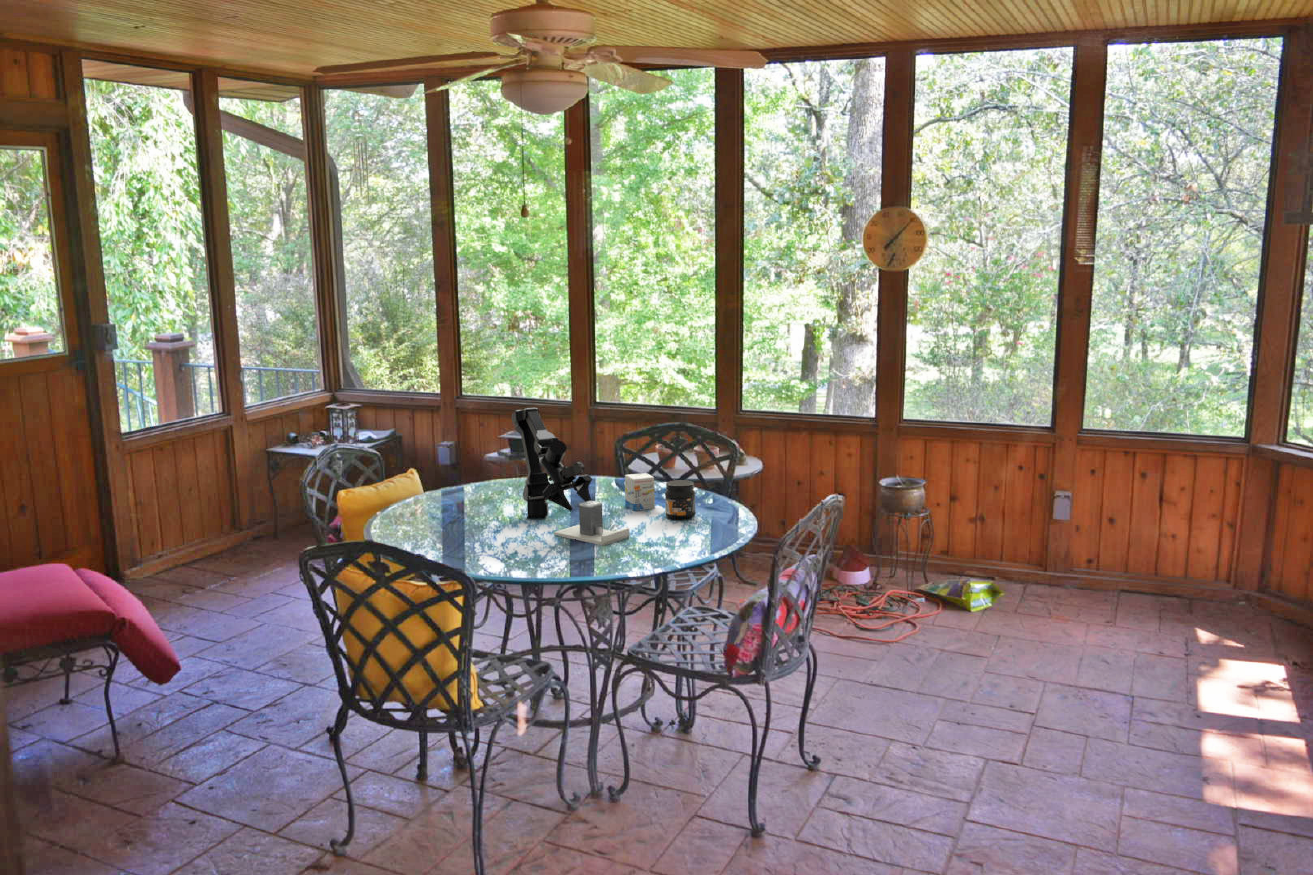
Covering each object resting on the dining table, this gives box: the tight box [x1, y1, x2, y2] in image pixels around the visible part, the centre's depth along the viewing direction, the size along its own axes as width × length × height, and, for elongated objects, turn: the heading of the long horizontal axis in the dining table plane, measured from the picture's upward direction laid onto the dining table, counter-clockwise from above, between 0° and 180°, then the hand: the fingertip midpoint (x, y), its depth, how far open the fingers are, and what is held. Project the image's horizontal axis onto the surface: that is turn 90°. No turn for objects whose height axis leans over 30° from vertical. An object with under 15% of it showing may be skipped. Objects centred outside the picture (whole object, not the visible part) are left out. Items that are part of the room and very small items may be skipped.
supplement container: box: [664, 479, 697, 521], centre depth 368 cm, size 10×10×12 cm
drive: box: [578, 500, 604, 536], centre depth 345 cm, size 5×6×10 cm
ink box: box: [624, 472, 656, 512], centre depth 383 cm, size 9×8×12 cm
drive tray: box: [553, 523, 630, 547], centre depth 346 cm, size 22×12×4 cm, turn 51°
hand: (581, 507), depth 347 cm, fingers open, 9 cm apart
